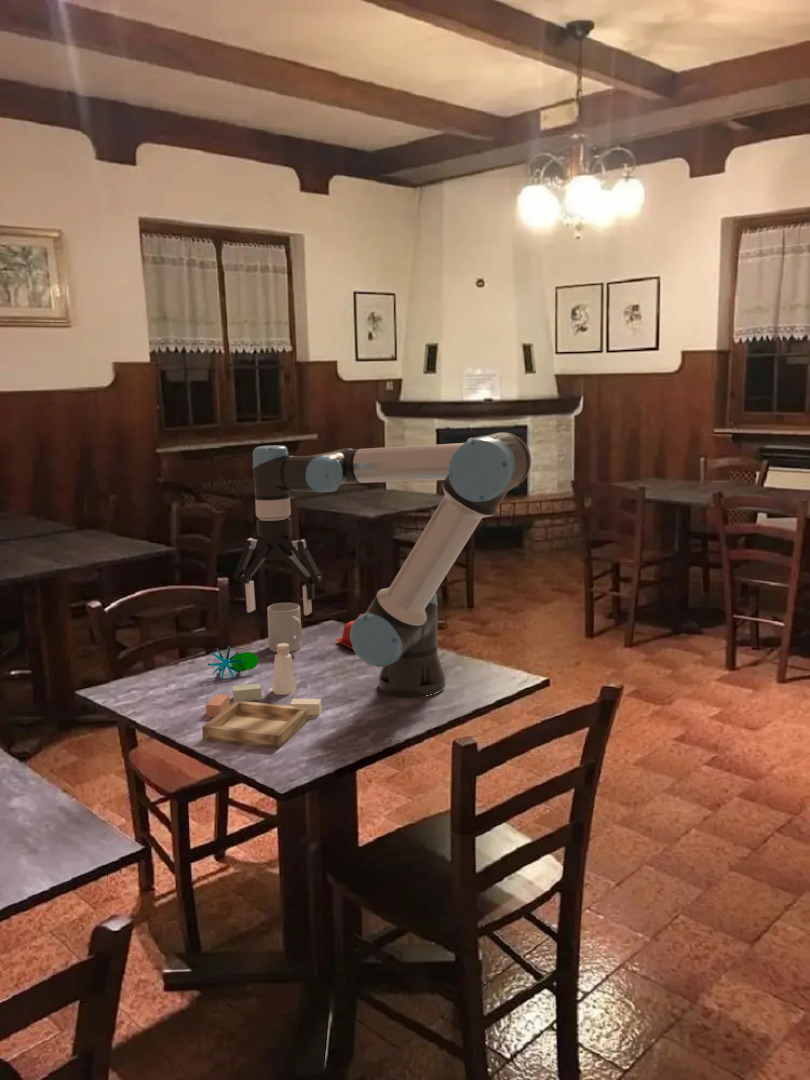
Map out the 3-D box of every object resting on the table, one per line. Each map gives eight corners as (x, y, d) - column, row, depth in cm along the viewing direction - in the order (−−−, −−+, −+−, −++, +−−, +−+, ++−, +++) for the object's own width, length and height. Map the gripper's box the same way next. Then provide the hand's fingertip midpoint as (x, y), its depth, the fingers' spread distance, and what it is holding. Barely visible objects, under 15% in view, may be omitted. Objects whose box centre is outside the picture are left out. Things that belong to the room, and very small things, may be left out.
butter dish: (372, 636, 244) (371, 606, 242) (394, 647, 234) (393, 615, 233) (334, 643, 238) (333, 612, 236) (354, 655, 228) (354, 623, 227)
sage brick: (260, 696, 201) (259, 683, 201) (261, 701, 199) (261, 688, 198) (233, 699, 200) (232, 686, 199) (234, 704, 197) (233, 691, 196)
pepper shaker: (274, 687, 206) (272, 640, 204) (298, 687, 206) (296, 640, 204) (270, 695, 201) (268, 648, 199) (294, 695, 201) (292, 648, 199)
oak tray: (309, 721, 186) (308, 708, 186) (279, 750, 173) (278, 735, 172) (237, 713, 191) (236, 700, 190) (203, 741, 177) (202, 726, 177)
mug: (262, 647, 235) (260, 606, 233) (290, 640, 240) (289, 600, 238) (286, 658, 226) (284, 616, 224) (315, 651, 231) (314, 610, 229)
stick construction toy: (211, 678, 208) (207, 646, 211) (205, 687, 213) (201, 656, 216) (262, 674, 213) (257, 643, 216) (254, 683, 219) (249, 652, 222)
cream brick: (321, 712, 192) (321, 698, 191) (319, 717, 189) (318, 704, 188) (293, 712, 192) (293, 698, 192) (291, 717, 189) (290, 703, 189)
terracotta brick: (216, 707, 195) (216, 694, 195) (230, 708, 195) (229, 695, 194) (206, 718, 189) (205, 704, 189) (220, 719, 189) (219, 705, 188)
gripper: (333, 515, 196) (338, 610, 200) (229, 513, 203) (235, 605, 207) (321, 521, 189) (326, 619, 193) (213, 519, 196) (220, 614, 200)
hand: (279, 612), depth 200 cm, fingers open, 13 cm apart
